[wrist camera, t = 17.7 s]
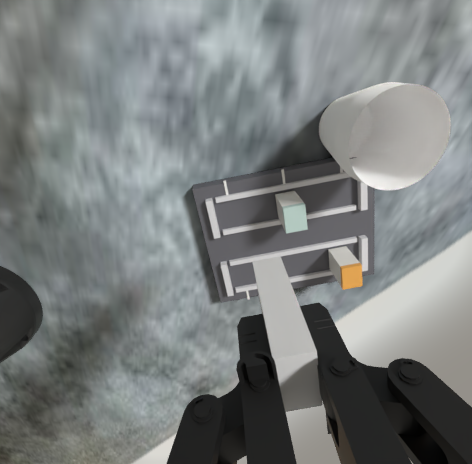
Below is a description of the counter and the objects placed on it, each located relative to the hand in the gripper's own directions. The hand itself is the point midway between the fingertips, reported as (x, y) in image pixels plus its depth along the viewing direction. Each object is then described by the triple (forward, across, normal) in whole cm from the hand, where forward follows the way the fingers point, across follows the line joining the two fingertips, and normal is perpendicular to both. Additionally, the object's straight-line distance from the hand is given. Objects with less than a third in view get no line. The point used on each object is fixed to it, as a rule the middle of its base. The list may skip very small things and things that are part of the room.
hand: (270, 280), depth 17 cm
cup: (+25, +13, +3) cm, 28 cm away
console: (+24, +5, -9) cm, 26 cm away
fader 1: (+22, +5, -4) cm, 23 cm away
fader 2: (+22, +11, -13) cm, 28 cm away
